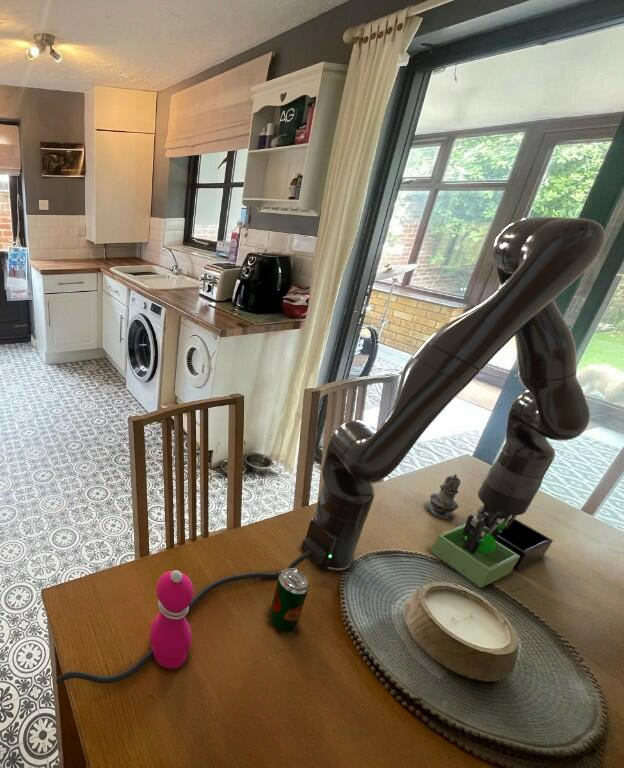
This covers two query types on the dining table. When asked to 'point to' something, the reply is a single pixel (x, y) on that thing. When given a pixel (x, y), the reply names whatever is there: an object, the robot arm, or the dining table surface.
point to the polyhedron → (486, 544)
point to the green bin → (474, 558)
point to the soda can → (288, 600)
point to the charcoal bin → (524, 542)
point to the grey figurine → (445, 498)
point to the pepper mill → (172, 620)
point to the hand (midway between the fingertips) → (476, 546)
